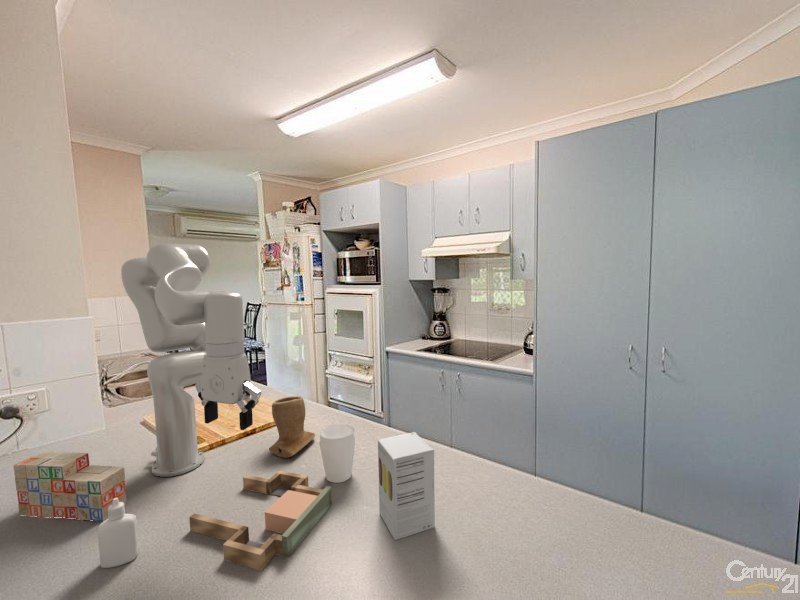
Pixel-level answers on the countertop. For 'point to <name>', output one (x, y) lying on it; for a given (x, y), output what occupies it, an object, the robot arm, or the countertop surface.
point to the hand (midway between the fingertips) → (228, 424)
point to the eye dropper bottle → (118, 537)
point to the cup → (337, 451)
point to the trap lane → (260, 554)
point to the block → (287, 510)
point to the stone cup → (290, 426)
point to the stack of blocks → (67, 486)
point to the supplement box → (406, 484)
